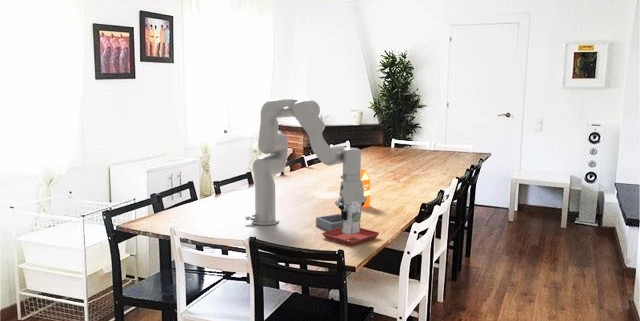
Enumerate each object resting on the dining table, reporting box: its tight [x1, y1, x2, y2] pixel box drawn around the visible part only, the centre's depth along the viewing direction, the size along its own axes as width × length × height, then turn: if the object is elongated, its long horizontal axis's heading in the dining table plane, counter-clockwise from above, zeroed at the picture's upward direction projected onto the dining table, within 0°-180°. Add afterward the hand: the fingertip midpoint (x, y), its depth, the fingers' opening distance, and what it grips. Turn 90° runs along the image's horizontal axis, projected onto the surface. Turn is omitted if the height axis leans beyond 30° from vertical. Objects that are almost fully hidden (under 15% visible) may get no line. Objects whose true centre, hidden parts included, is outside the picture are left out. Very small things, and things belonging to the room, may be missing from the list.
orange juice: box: [360, 168, 371, 208], centre depth 291 cm, size 8×9×20 cm
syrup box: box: [342, 201, 362, 235], centre depth 231 cm, size 6×6×14 cm
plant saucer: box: [321, 227, 380, 247], centre depth 232 cm, size 18×18×3 cm
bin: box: [315, 213, 342, 232], centre depth 249 cm, size 13×13×4 cm
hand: (351, 218), depth 231 cm, fingers closed on syrup box, 6 cm apart
